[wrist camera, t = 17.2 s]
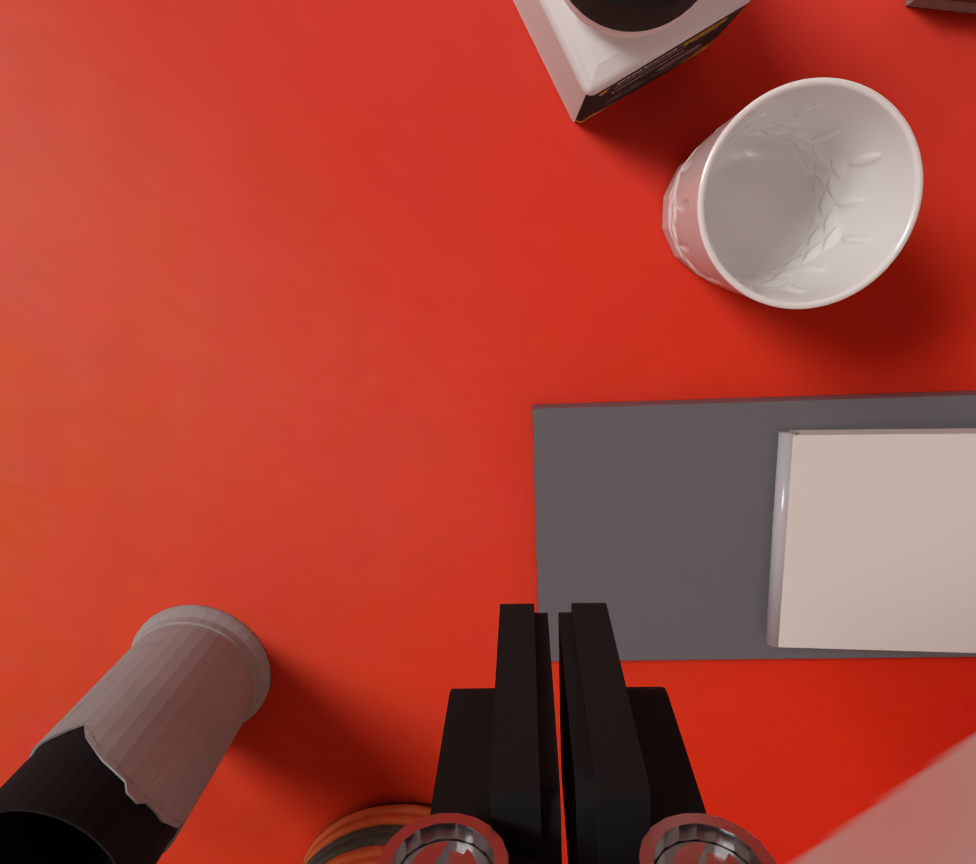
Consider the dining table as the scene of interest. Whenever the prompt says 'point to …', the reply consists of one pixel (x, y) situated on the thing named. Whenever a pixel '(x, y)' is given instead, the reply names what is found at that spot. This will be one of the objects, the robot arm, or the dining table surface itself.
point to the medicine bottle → (618, 43)
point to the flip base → (687, 513)
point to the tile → (874, 540)
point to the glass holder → (137, 745)
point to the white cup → (798, 195)
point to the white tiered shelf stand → (945, 5)
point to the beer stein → (362, 834)
